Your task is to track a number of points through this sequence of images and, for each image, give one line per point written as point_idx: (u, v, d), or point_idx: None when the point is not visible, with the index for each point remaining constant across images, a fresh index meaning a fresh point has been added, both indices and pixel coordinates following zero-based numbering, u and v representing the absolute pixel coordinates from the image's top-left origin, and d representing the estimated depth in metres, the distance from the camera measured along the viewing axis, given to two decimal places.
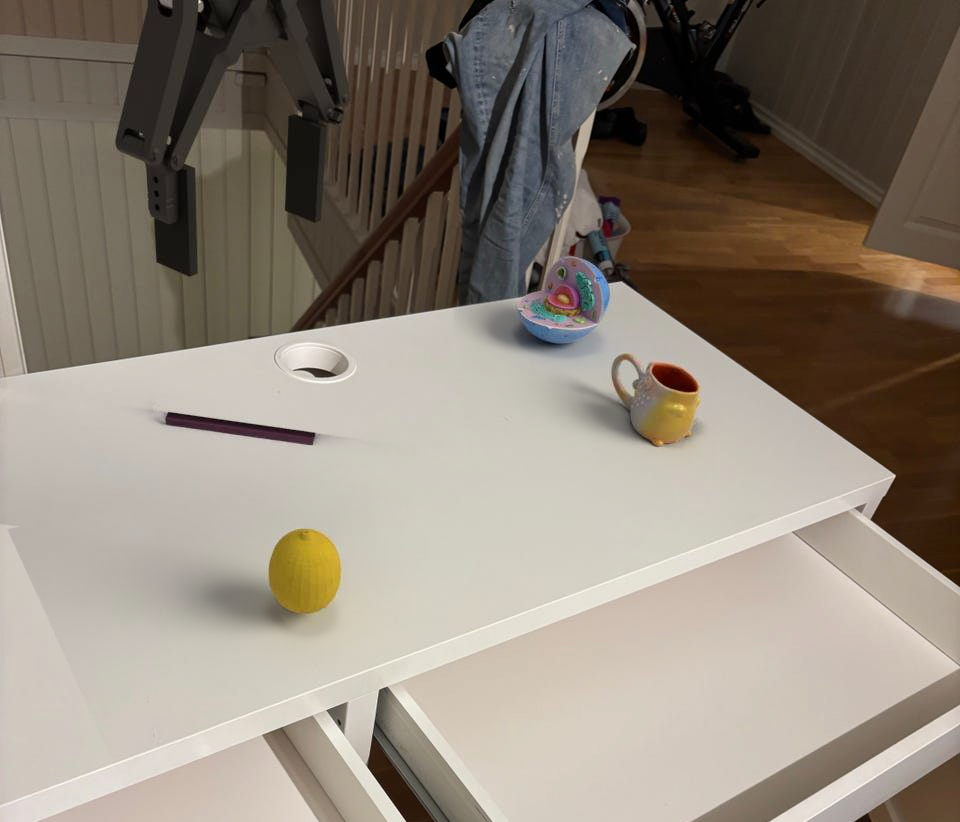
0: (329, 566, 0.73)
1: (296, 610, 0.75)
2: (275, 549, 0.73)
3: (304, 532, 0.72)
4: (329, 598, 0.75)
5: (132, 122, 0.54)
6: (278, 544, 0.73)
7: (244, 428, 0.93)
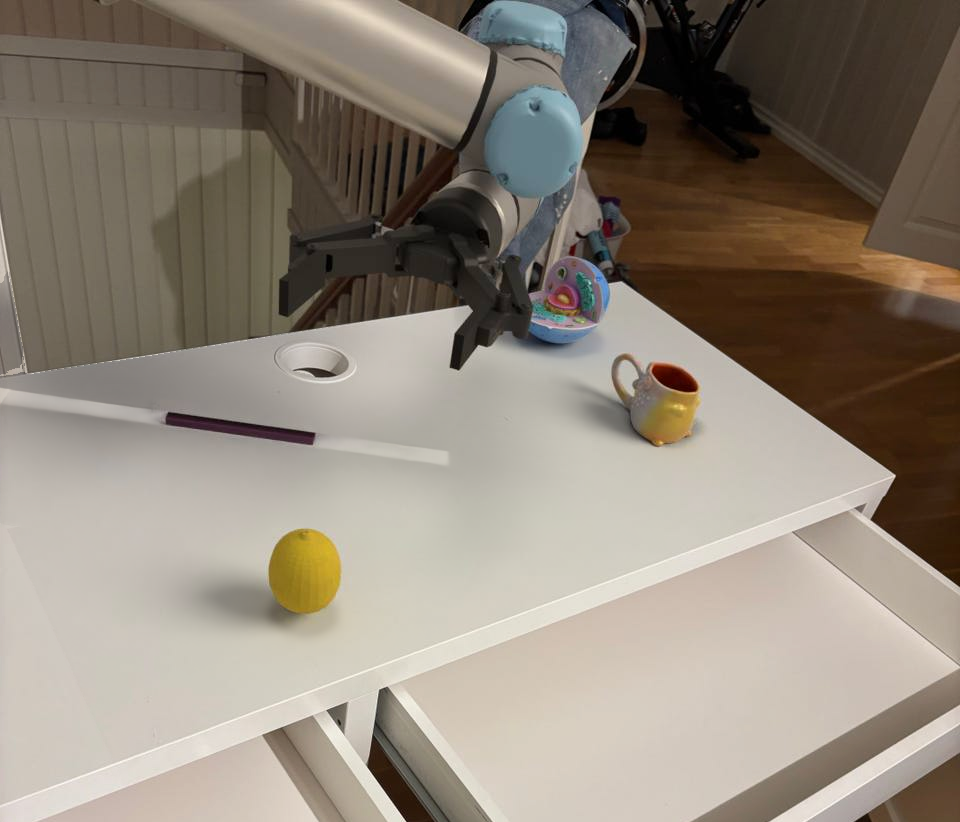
0: (329, 566, 0.73)
1: (296, 610, 0.75)
2: (275, 549, 0.73)
3: (304, 532, 0.72)
4: (329, 598, 0.75)
5: None
6: (278, 544, 0.73)
7: (244, 428, 0.93)
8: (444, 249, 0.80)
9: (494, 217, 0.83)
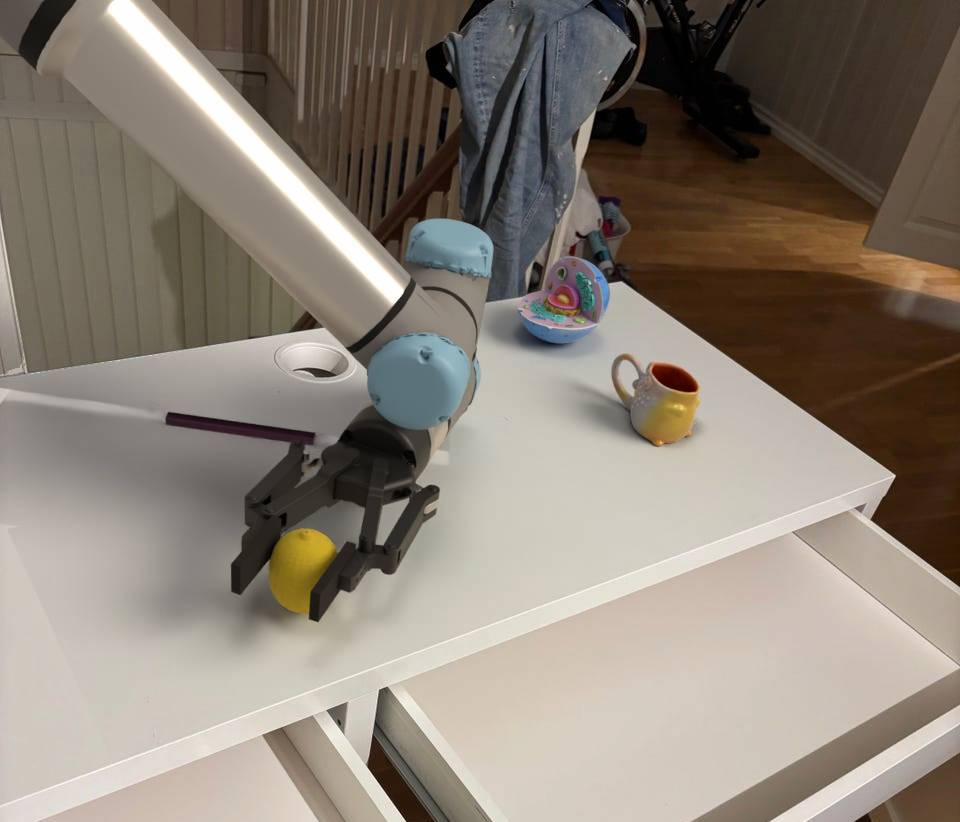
0: None
1: (296, 610, 0.75)
2: (275, 549, 0.73)
3: (304, 532, 0.72)
4: None
5: (402, 548, 0.76)
6: (278, 544, 0.73)
7: (244, 428, 0.93)
8: (369, 474, 0.81)
9: (421, 434, 0.84)
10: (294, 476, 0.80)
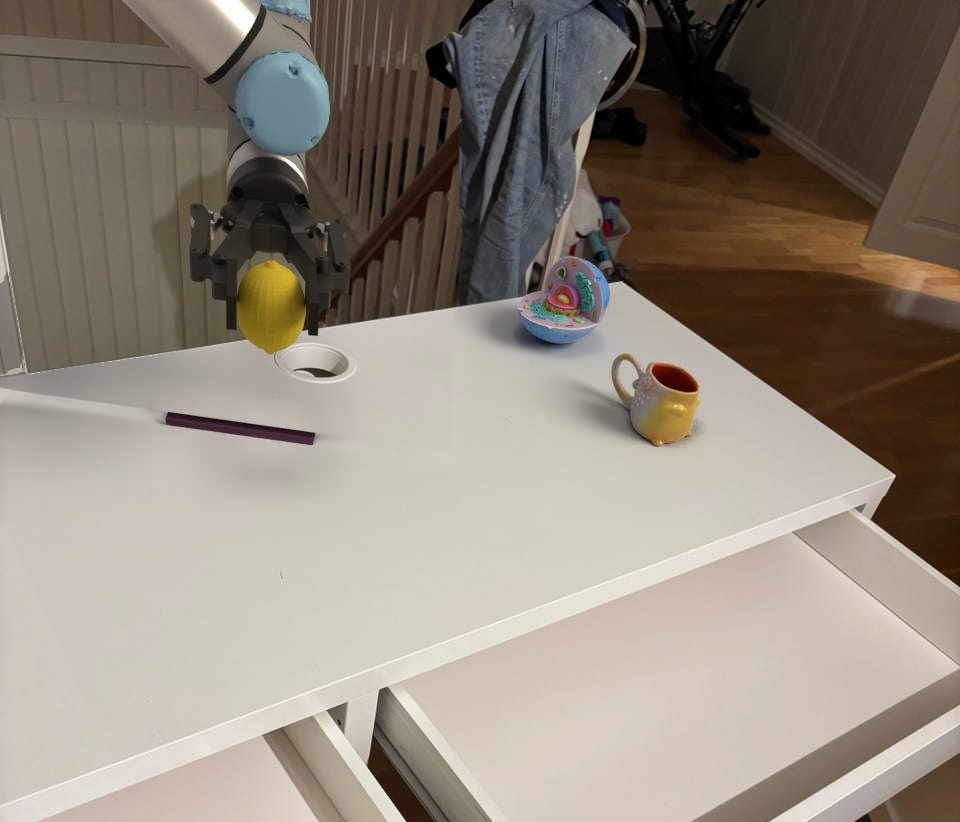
0: (300, 291, 0.78)
1: (277, 344, 0.79)
2: (245, 286, 0.77)
3: (269, 262, 0.77)
4: (302, 326, 0.80)
5: None
6: (246, 281, 0.77)
7: (244, 428, 0.93)
8: (278, 219, 0.85)
9: (301, 180, 0.89)
10: None
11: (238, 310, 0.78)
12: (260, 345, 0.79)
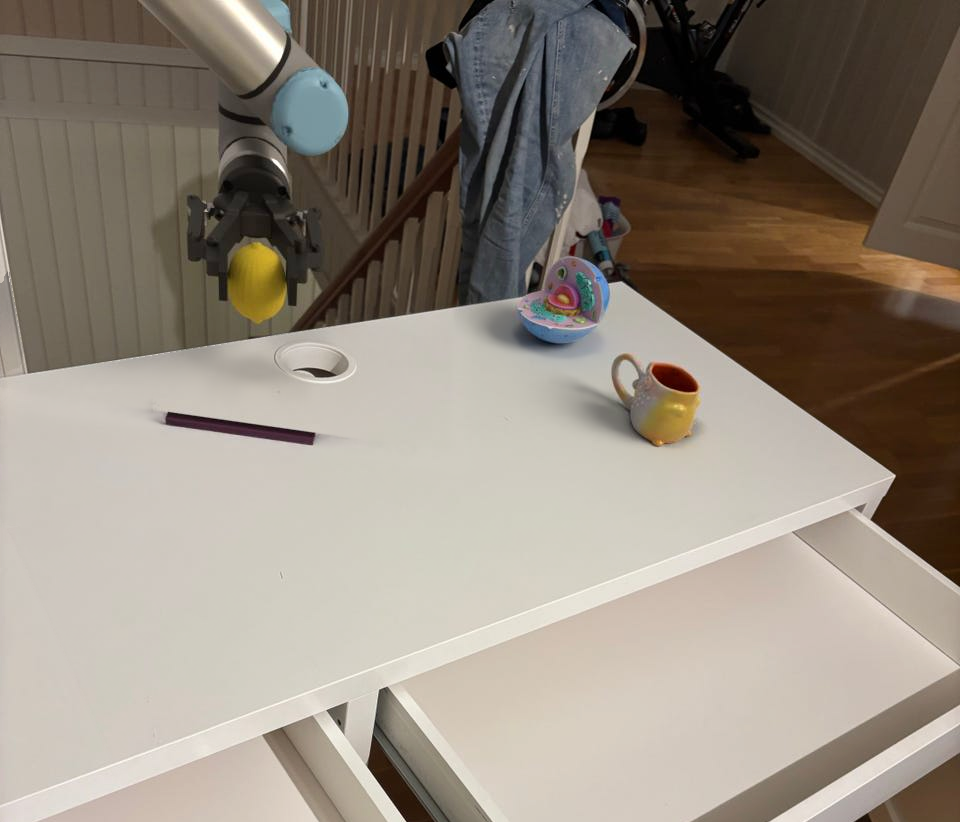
0: (281, 268, 0.92)
1: (262, 314, 0.93)
2: (234, 264, 0.91)
3: (255, 243, 0.90)
4: (283, 299, 0.94)
5: None
6: (235, 259, 0.91)
7: (244, 428, 0.93)
8: (262, 208, 0.99)
9: (283, 174, 1.02)
10: (204, 222, 0.96)
11: (229, 285, 0.92)
12: (248, 315, 0.93)
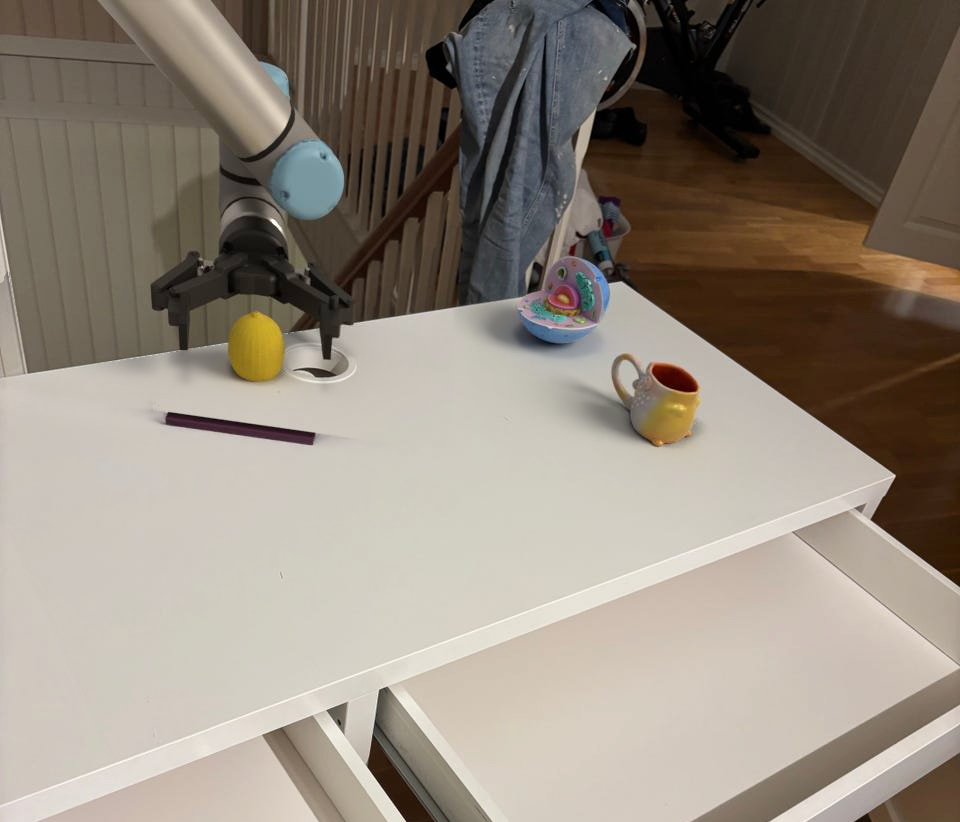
0: (279, 336, 0.97)
1: (261, 378, 0.98)
2: (235, 333, 0.95)
3: (254, 313, 0.95)
4: (282, 363, 0.99)
5: None
6: (236, 328, 0.95)
7: (244, 428, 0.93)
8: (261, 268, 1.03)
9: (281, 235, 1.07)
10: (191, 277, 1.01)
11: (229, 351, 0.97)
12: (247, 379, 0.98)
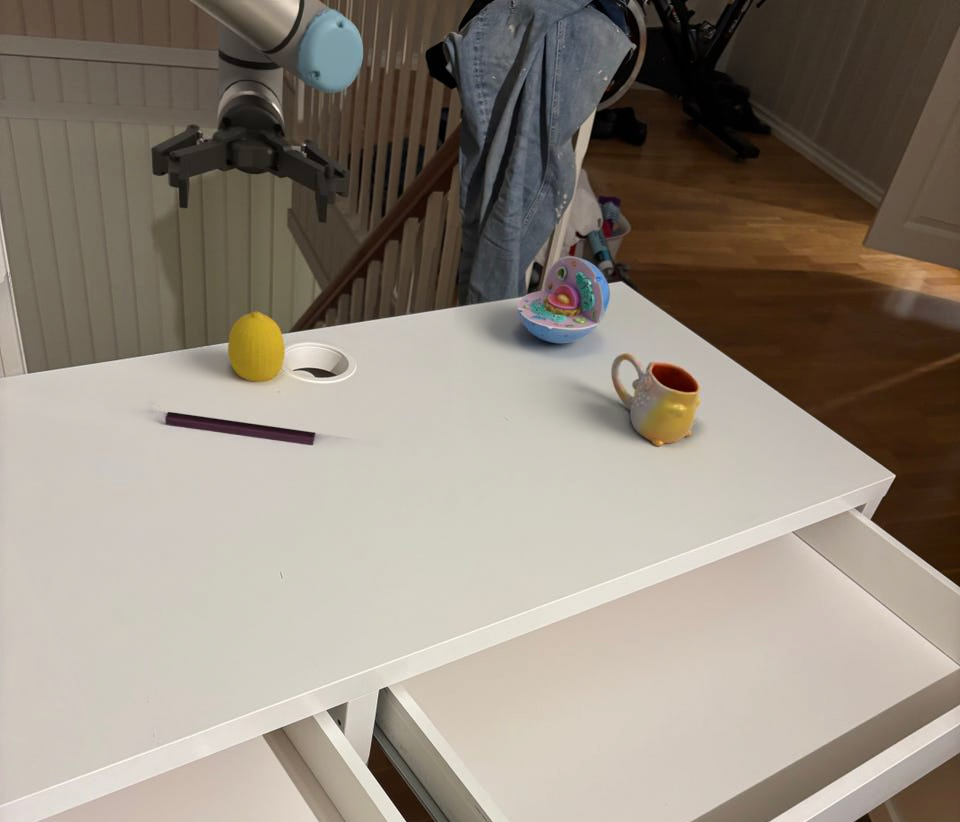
0: (279, 336, 0.97)
1: (261, 378, 0.98)
2: (235, 333, 0.95)
3: (254, 313, 0.95)
4: (282, 363, 0.99)
5: None
6: (236, 328, 0.95)
7: (244, 428, 0.93)
8: (259, 142, 1.06)
9: (278, 114, 1.10)
10: None
11: (229, 351, 0.97)
12: (247, 379, 0.98)
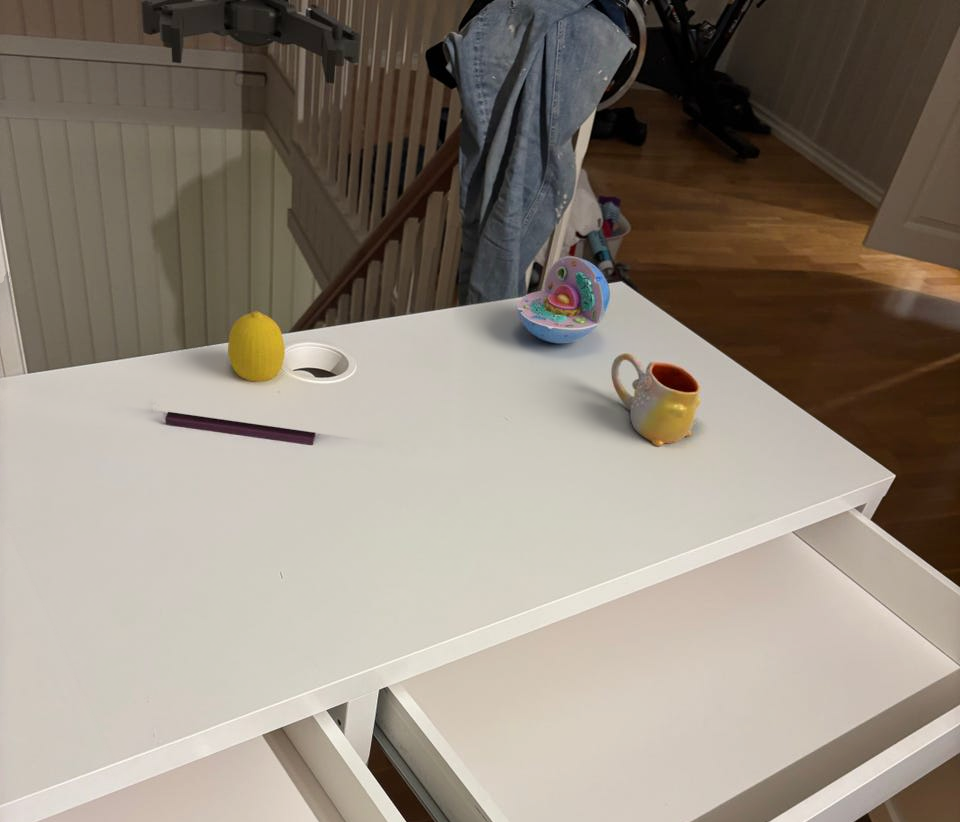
0: (279, 336, 0.97)
1: (261, 378, 0.98)
2: (235, 333, 0.95)
3: (254, 313, 0.95)
4: (282, 363, 0.99)
5: None
6: (236, 328, 0.95)
7: (244, 428, 0.93)
8: (260, 4, 0.97)
9: None
10: None
11: (229, 351, 0.97)
12: (247, 379, 0.98)
